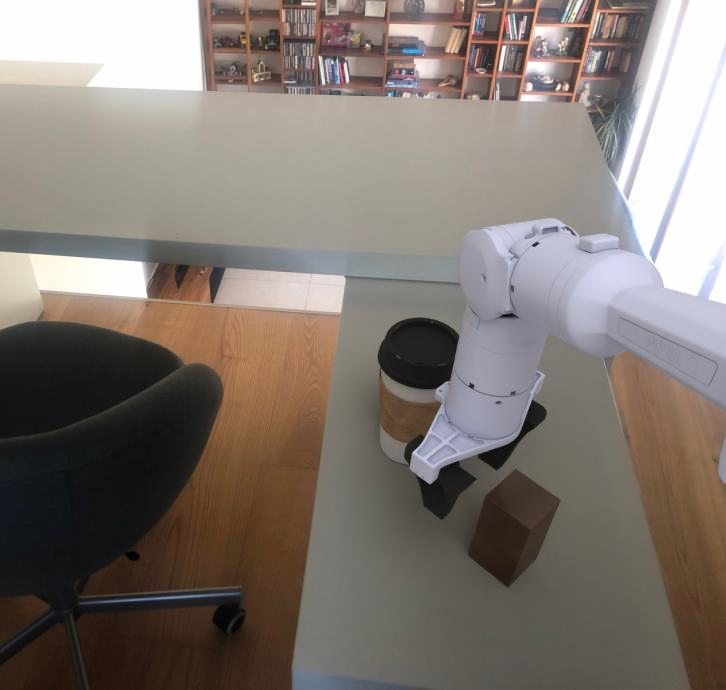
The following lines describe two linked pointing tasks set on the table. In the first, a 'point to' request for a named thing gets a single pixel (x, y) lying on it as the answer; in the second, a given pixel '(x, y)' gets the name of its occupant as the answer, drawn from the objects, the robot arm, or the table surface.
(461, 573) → the table surface
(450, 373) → the coffee cup
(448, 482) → the robot arm
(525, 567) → the brown wooden block
